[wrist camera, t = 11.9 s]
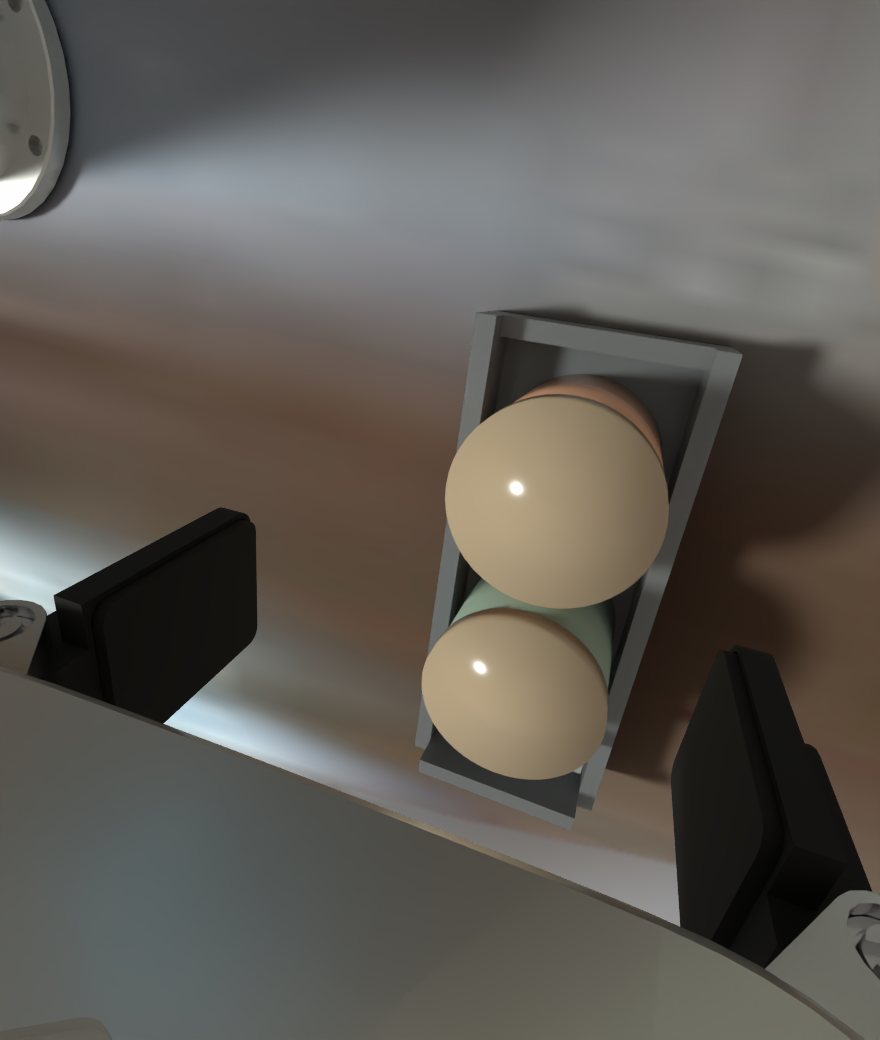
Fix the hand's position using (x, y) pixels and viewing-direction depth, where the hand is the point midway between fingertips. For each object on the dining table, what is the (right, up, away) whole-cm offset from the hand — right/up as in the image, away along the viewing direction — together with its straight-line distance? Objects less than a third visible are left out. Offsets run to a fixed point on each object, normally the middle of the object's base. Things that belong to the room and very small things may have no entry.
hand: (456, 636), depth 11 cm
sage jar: (+5, -2, +17) cm, 18 cm away
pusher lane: (+5, 0, +16) cm, 17 cm away
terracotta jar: (+6, +5, +14) cm, 15 cm away
